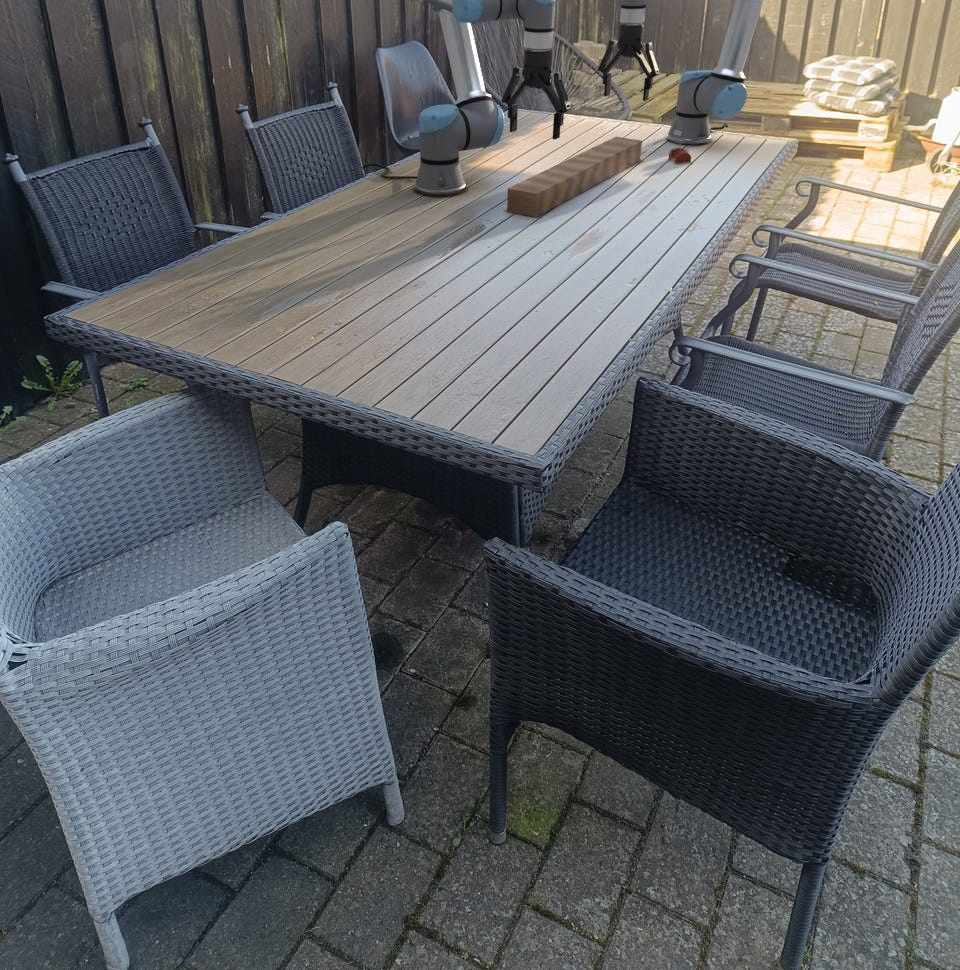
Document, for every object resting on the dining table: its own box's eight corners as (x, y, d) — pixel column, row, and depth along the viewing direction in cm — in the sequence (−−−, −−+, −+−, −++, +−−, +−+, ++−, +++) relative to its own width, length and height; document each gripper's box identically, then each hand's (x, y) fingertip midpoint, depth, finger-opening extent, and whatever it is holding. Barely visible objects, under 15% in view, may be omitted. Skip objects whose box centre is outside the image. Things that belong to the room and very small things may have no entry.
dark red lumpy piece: (683, 144, 286) (693, 150, 280) (681, 156, 289) (692, 163, 282) (667, 145, 285) (678, 152, 279) (666, 158, 288) (676, 165, 281)
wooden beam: (536, 217, 237) (537, 193, 234) (507, 211, 242) (507, 188, 238) (640, 160, 286) (642, 140, 282) (613, 156, 290) (615, 136, 286)
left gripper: (587, 52, 216) (581, 138, 229) (504, 42, 227) (502, 125, 240) (574, 56, 211) (568, 144, 224) (490, 46, 222) (488, 130, 235)
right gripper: (674, 24, 256) (666, 99, 269) (600, 19, 267) (596, 91, 280) (665, 27, 251) (657, 104, 264) (590, 22, 262) (586, 96, 275)
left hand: (534, 134), depth 232 cm, fingers open, 13 cm apart
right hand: (626, 97), depth 272 cm, fingers open, 13 cm apart
